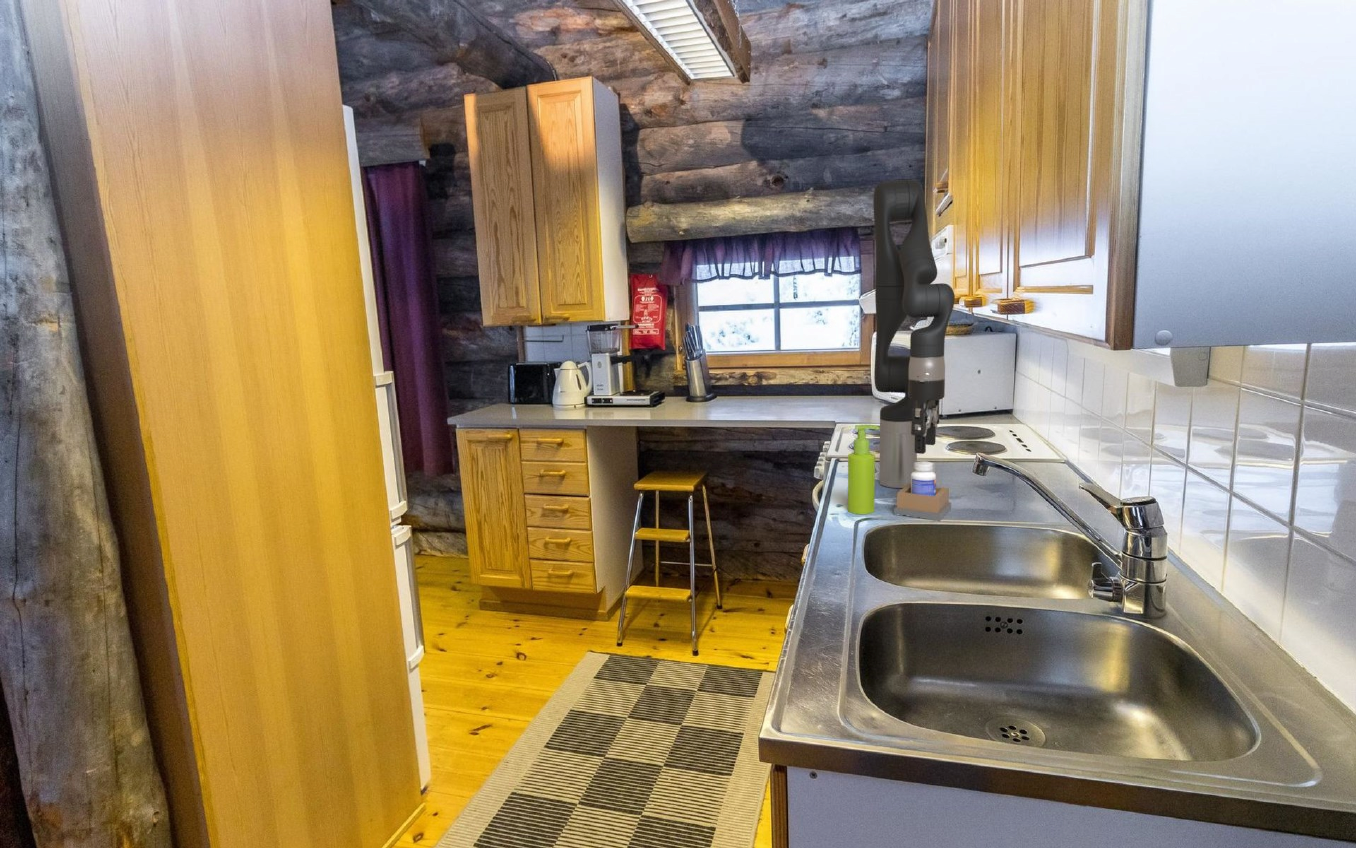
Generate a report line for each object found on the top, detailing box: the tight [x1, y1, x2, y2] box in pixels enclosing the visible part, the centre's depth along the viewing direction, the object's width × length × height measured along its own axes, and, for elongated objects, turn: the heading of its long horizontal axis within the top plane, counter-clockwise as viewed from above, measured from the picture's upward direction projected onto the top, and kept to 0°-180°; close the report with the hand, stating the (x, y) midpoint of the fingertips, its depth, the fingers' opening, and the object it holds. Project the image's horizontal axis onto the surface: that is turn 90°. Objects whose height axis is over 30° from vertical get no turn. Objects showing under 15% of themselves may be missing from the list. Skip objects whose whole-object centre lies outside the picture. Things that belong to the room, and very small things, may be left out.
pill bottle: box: [911, 460, 937, 496], centre depth 157 cm, size 5×5×10 cm
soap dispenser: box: [847, 424, 880, 515], centre depth 159 cm, size 6×7×20 cm
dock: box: [893, 484, 952, 521], centre depth 158 cm, size 10×10×5 cm
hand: (925, 448), depth 156 cm, fingers open, 8 cm apart
